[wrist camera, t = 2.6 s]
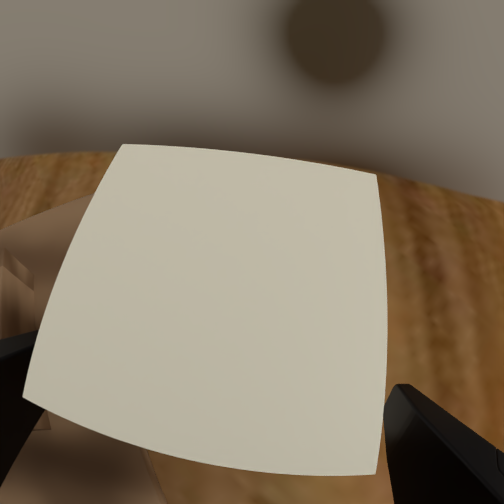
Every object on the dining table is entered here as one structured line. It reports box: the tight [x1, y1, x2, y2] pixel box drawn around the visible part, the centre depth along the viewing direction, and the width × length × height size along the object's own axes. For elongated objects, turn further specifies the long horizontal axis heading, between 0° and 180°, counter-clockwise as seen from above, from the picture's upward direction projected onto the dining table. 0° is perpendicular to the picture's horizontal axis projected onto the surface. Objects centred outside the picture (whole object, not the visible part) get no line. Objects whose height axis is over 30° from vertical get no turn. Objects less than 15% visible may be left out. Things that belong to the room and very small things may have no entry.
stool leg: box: [23, 144, 387, 476], centre depth 9 cm, size 4×4×13 cm
